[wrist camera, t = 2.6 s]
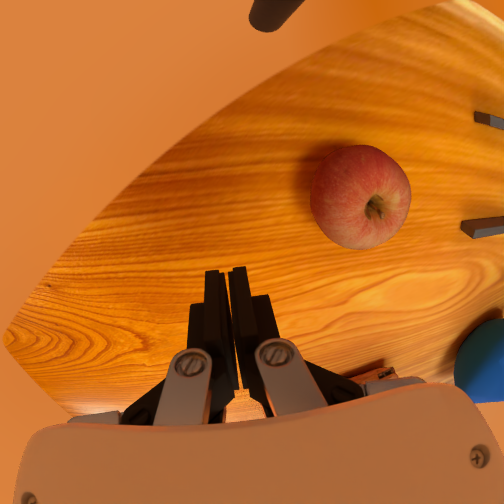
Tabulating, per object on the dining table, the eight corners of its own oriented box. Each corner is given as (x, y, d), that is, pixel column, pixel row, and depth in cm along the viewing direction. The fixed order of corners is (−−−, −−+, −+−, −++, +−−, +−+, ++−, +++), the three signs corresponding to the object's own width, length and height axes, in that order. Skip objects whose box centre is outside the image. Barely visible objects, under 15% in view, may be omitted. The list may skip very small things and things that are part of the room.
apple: (279, 199, 24) (305, 243, 17) (329, 120, 21) (379, 131, 14) (348, 238, 26) (388, 287, 20) (394, 170, 23) (449, 201, 17)
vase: (515, 303, 39) (564, 362, 22) (471, 366, 47) (507, 425, 31) (479, 301, 35) (543, 380, 19) (425, 376, 44) (465, 452, 27)
